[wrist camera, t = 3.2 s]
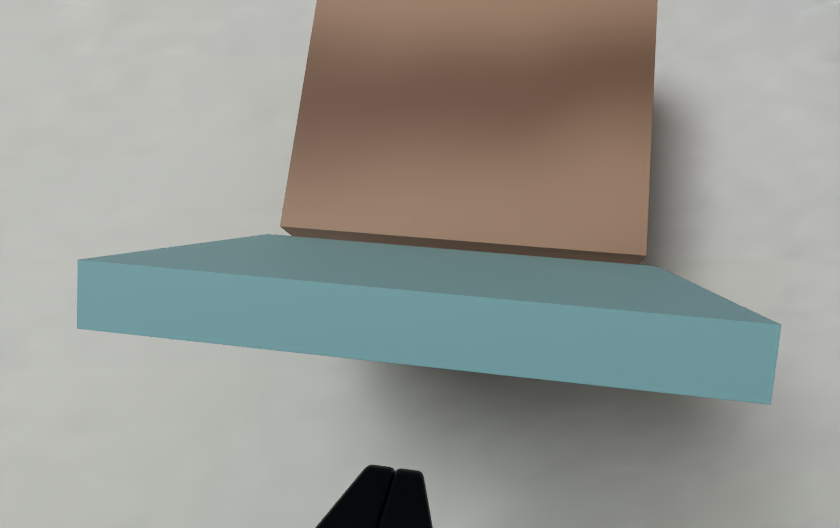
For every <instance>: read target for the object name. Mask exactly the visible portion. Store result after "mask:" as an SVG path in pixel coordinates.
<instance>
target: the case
mask: <svg viewBox="0 0 840 528" xmlns="http://www.w3.org/2000/svg"><path fill="white" fill-rule="evenodd" d="M656 22H657V0H317V3H316V9H315V15H314V22H313V28H312V34H311V40H310V46H309V52H308V58H307V64H306V71H305V77H304V83H303V89H302V95H301V101H300V107H299V113H298V120H297V126H296V132H295V138H294V144H293V150H292V156H291V162H290V169H289V175H288V181H287V187H286V193H285V199H284V205H283V211H282V218H281V224H280V227H282V228H283V229H284V230H285V231H287V232H288V233H289V234H290V235H292V236H295V237H307V238H320V239H332V240H344V241H356V242H368V243H380V244H393V245H405V246H417V247H429V248H441V249H453V250H465V251H478V252H490V253H502V254H514V255H526V256H538V257H551V258H563V259H575V260H587V261H599V262H611V263H624V264H636V265H638V264H639V263H640V262H641V261H642V260H643V259H644V258H645V257H646V254H647V230H648V207H649V184H650V161H651V138H652V115H653V92H654V68H655V45H656Z"/></svg>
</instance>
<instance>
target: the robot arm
mask: <svg viewBox="0 0 840 528" xmlns="http://www.w3.org/2000/svg"><path fill="white" fill-rule="evenodd" d="M316 528H433V527H432V521H431V515H430V510H429V504H428V498H427V493H426V487H425V481H424V476H423V474H422V472H420V471H416V470H408V469H397V470H396V471H395V470H394V469H393V468H391V467H386V466H379V465H369V466H367V467H366V468H365V469H364V470H363V471H362V472H361V473H360V475H359V476H358V477H357V478H356V479H355V481H354V482H353V483H352V484H351V485H350V487H349V488H348V489H347V490H346V492H345V493H344V494H343V495H342V496H341V498H340V499H339V500H338V501H337V502H336V504H335V505H334V506H333V507H332V508H331V510H330V511H329V512H328V513H327V514H326V516H325V517H324V518H323V519H322V520H321V522H320V523H319V524H318V525H317V526H316Z"/></svg>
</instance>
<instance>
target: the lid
mask: <svg viewBox="0 0 840 528" xmlns="http://www.w3.org/2000/svg"><path fill="white" fill-rule="evenodd" d="M77 329H86V330H95V331H104V332H113V333H122V334H132V335H141V336H150V337H159V338H168V339H177V340H186V341H195V342H205V343H214V344H223V345H232V346H241V347H250V348H259V349H268V350H278V351H287V352H296V353H305V354H314V355H323V356H332V357H341V358H351V359H360V360H369V361H378V362H387V363H396V364H405V365H414V366H424V367H433V368H442V369H451V370H460V371H469V372H478V373H487V374H497V375H506V376H515V377H524V378H533V379H542V380H551V381H560V382H570V383H579V384H588V385H597V386H606V387H615V388H624V389H633V390H643V391H652V392H661V393H670V394H679V395H688V396H697V397H706V398H716V399H725V400H734V401H743V402H752V403H761V404H770V405H771V398H772V390H773V383H774V375H775V368H776V360H777V353H778V346H779V338H780V331H781V324H778V323H776V322H774V321H772V320H770V319H768V318H766V317H764V316H761V315H759V314H757V313H755V312H753V311H751V310H749V309H747V308H745V307H742V306H740V305H738V304H736V303H734V302H732V301H730V300H728V299H726V298H723V297H721V296H719V295H717V294H715V293H713V292H711V291H709V290H706V289H704V288H702V287H700V286H698V285H696V284H694V283H692V282H690V281H687V280H685V279H683V278H681V277H679V276H677V275H675V274H673V273H670V272H668V271H666V270H664V269H662V268H660V267H658V266H648V265H636V264H624V263H611V262H599V261H587V260H575V259H563V258H551V257H538V256H526V255H514V254H502V253H490V252H478V251H465V250H453V249H441V248H429V247H417V246H405V245H393V244H380V243H368V242H356V241H344V240H332V239H320V238H307V237H295V236H283V235H271V234H266V235H259V236H251V237H244V238H236V239H229V240H221V241H214V242H207V243H199V244H192V245H184V246H177V247H169V248H162V249H155V250H147V251H140V252H132V253H125V254H117V255H110V256H102V257H95V258H88V259H80V260H78V293H77Z"/></svg>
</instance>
